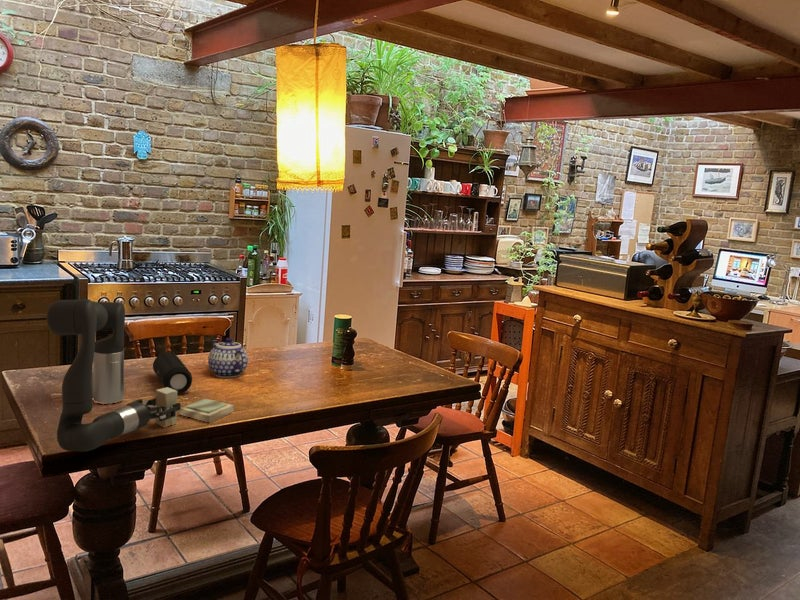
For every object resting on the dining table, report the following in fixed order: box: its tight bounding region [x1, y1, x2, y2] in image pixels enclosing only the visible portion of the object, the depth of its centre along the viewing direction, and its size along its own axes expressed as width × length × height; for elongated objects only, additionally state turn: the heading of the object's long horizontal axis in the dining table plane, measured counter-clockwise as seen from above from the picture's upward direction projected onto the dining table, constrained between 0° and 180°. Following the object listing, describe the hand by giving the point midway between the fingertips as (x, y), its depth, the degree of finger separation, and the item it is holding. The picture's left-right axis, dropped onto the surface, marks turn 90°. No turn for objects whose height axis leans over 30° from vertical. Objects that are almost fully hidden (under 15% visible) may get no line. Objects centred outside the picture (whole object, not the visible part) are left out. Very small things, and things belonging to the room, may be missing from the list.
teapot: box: [207, 337, 249, 379], centre depth 252 cm, size 25×15×15 cm, turn 40°
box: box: [154, 387, 178, 428], centre depth 197 cm, size 5×4×11 cm
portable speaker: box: [152, 351, 193, 395], centre depth 234 cm, size 26×10×10 cm, turn 30°
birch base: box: [178, 397, 235, 424], centre depth 209 cm, size 12×12×3 cm
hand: (168, 403), depth 198 cm, fingers open, 8 cm apart
